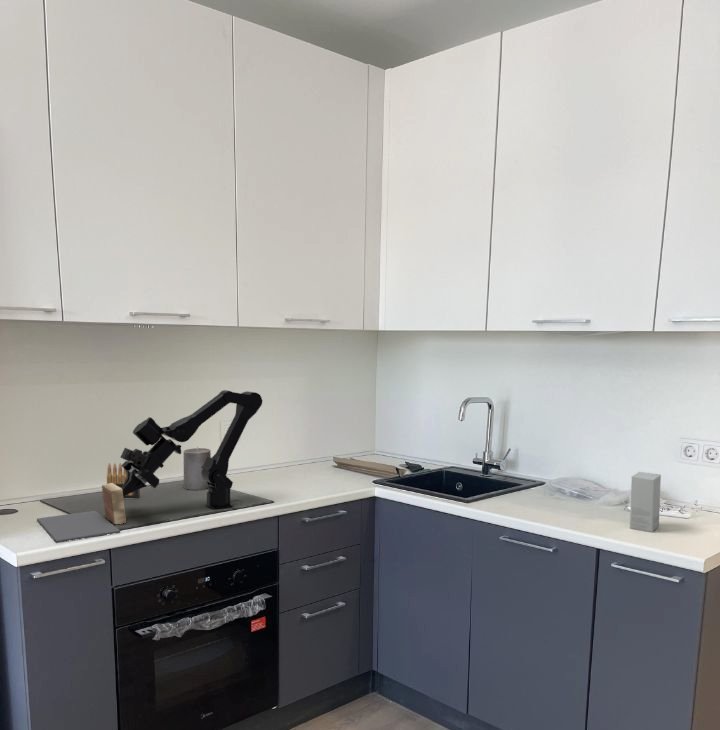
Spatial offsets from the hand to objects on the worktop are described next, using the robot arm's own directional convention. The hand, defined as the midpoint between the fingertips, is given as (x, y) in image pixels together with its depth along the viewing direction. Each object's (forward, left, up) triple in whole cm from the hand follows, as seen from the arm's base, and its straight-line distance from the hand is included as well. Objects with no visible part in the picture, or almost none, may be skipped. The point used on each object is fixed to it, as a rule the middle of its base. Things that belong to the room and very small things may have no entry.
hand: (119, 496), depth 183 cm
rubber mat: (+11, 0, -7) cm, 13 cm away
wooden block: (+1, 0, -7) cm, 7 cm away
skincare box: (-122, +94, -7) cm, 154 cm away
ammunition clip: (-9, -27, -7) cm, 29 cm away
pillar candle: (-36, -29, -7) cm, 47 cm away
